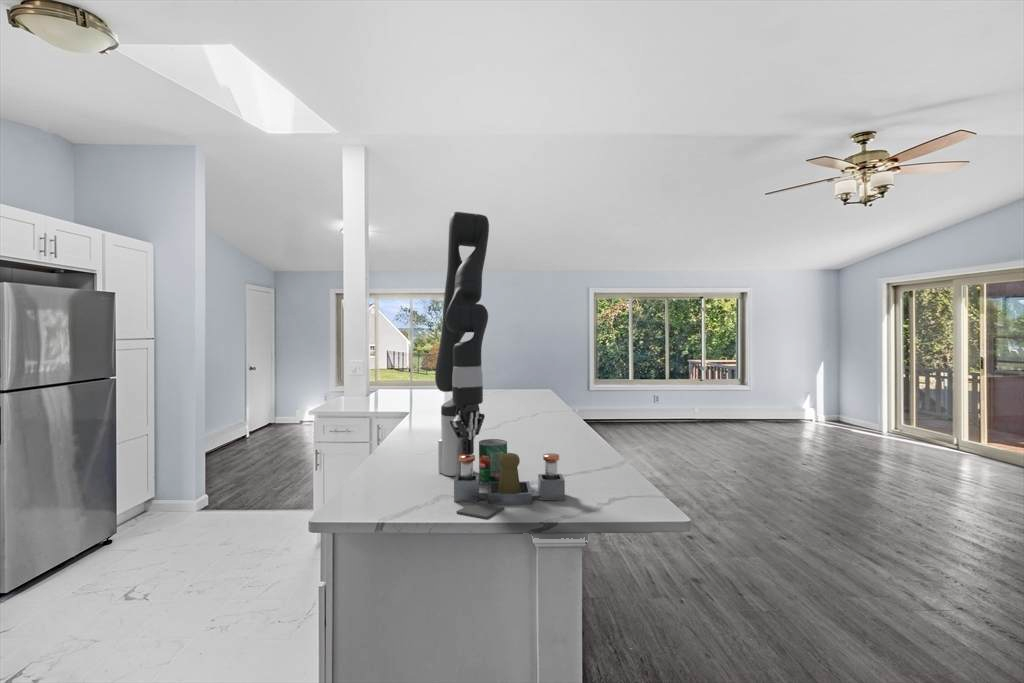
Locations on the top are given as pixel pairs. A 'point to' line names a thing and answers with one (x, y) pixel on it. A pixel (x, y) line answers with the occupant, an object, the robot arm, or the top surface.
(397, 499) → the top surface
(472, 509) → the pad
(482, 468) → the canned tomato
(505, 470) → the cork
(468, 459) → the plunger
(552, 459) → the plunger
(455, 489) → the housing
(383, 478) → the top surface
